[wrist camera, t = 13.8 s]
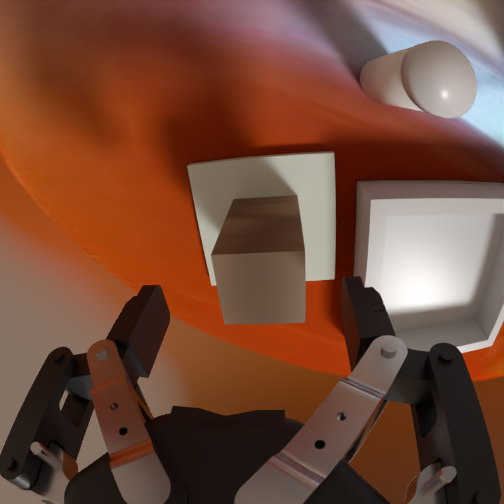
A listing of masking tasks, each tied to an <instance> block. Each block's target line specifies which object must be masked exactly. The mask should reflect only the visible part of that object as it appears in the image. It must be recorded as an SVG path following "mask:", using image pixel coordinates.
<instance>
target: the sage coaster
mask: <svg viewBox="0 0 504 504" xmlns="http://www.w3.org/2000/svg"><path fill="white" fill-rule="evenodd" d="M187 168H188V173H189V179H190V184H191V189H192V195H193V200H194V205H195V210H196V215H197V220H198V225H199V229H200V234H201V239H202V244H203V248H204V253H205V258H206V262H207V267H208V271H209V276H210V280H211V285H216V280H215V275H214V269H213V264H212V259H211V253H212V251H213V248H214V246H215V243H216V241H217V238H218V236H219V233H220V231H221V228H222V226H223V223H224V221H225V218H226V216H227V214H228V211H229V209H230V206H231V204H232V202H233V199H243V198H258V197H274V196H294V195H297V196H298V203H299V209H300V216H301V223H302V231H303V238H304V246H305V277H306V281H314V280H330V279H335V252H336V192H335V159H334V152H333V151H325V152H304V153H288V154H274V155H262V156H251V157H241V158H232V159H223V160H215V161H207V162H199V163H192V164H189V165H188V166H187Z"/></svg>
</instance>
